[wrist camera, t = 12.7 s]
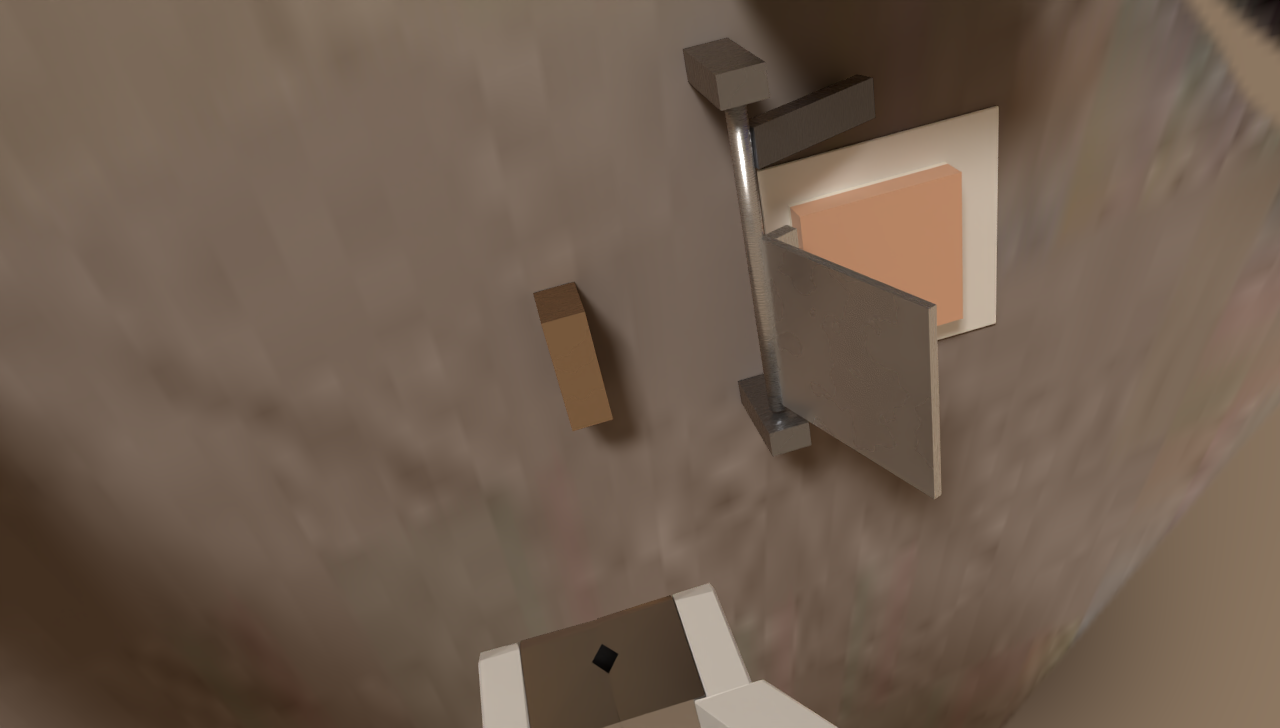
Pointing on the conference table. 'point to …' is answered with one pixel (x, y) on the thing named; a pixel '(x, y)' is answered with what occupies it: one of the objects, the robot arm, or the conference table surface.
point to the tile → (894, 233)
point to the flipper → (836, 308)
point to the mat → (950, 141)
